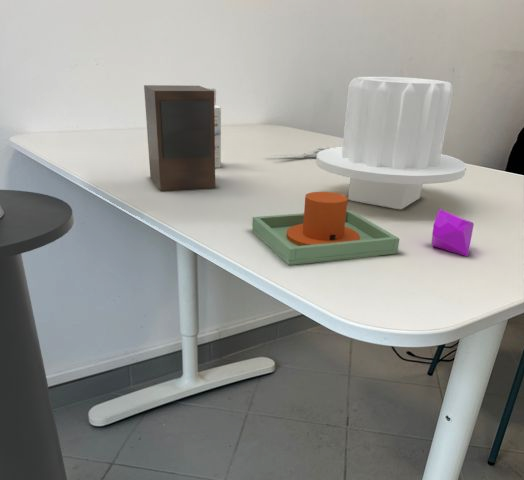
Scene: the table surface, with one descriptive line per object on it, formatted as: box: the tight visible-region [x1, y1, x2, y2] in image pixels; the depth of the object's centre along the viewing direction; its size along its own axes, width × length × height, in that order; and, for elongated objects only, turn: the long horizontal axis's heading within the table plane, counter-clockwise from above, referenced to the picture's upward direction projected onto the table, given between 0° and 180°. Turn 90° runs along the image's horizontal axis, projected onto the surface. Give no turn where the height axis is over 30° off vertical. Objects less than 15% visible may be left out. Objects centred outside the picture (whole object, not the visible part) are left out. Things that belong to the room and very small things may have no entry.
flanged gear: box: [315, 75, 467, 210], centre depth 90 cm, size 25×25×19 cm
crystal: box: [431, 208, 474, 257], centre depth 72 cm, size 5×5×5 cm
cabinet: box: [143, 84, 216, 192], centre depth 96 cm, size 10×10×16 cm
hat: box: [286, 191, 360, 246], centre depth 72 cm, size 10×10×6 cm
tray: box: [251, 209, 400, 266], centre depth 73 cm, size 16×14×2 cm
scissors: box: [272, 146, 331, 160], centre depth 125 cm, size 11×1×20 cm
